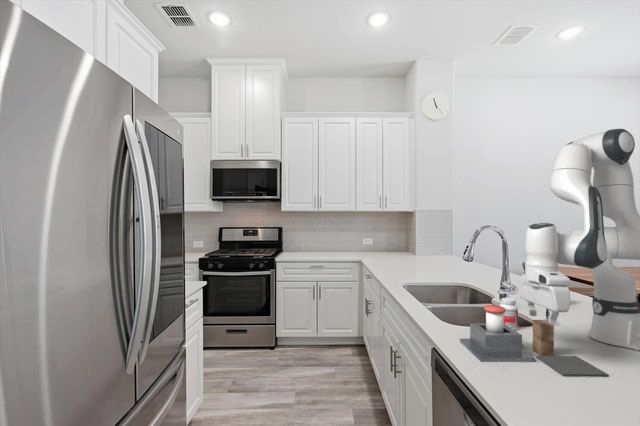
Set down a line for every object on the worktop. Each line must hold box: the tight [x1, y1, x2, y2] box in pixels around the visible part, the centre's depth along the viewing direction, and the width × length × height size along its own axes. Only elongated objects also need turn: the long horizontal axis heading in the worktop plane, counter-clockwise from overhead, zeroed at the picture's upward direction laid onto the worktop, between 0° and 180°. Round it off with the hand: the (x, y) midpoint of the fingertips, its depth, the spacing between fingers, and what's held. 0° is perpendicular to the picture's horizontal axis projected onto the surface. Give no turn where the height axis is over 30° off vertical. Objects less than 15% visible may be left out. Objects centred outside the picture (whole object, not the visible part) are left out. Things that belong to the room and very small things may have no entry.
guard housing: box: [459, 322, 536, 363], centre depth 110 cm, size 16×16×7 cm
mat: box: [535, 355, 610, 378], centre depth 99 cm, size 12×12×1 cm
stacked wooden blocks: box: [532, 319, 555, 356], centre depth 108 cm, size 4×4×10 cm
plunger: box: [483, 304, 505, 333], centre depth 110 cm, size 6×6×9 cm
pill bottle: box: [499, 297, 519, 331], centre depth 132 cm, size 6×6×11 cm
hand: (541, 319), depth 108 cm, fingers open, 8 cm apart
